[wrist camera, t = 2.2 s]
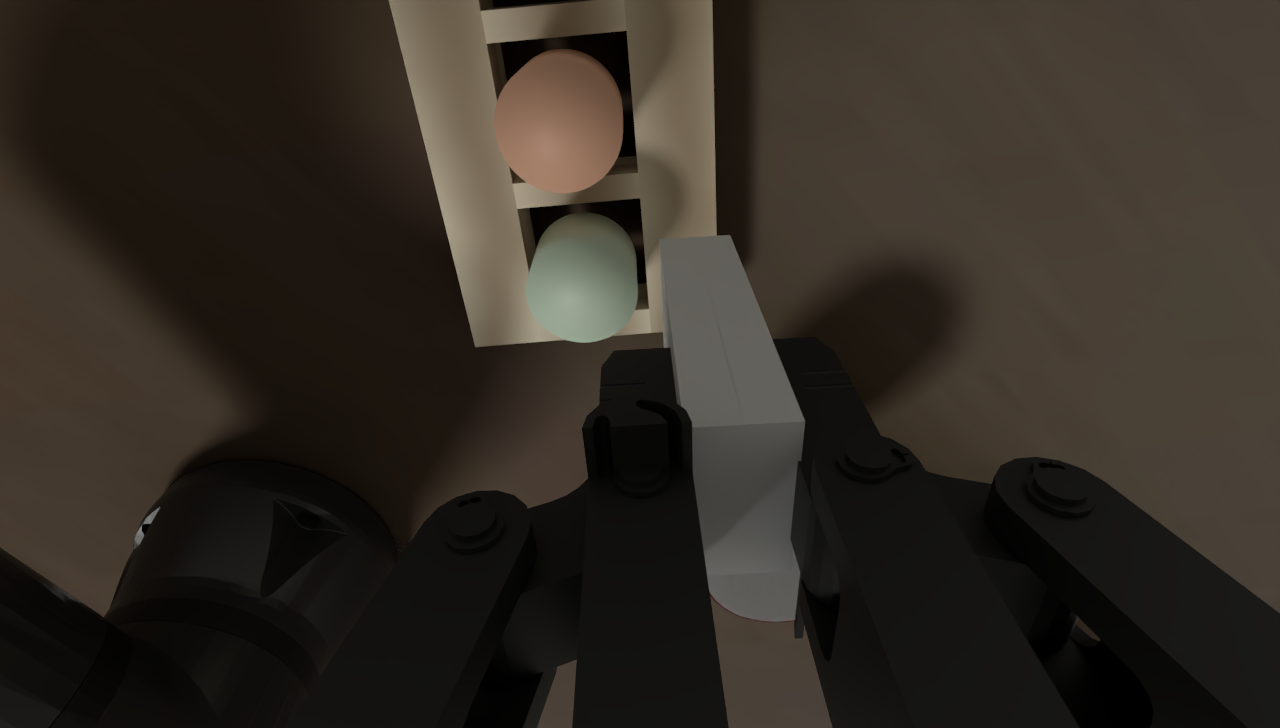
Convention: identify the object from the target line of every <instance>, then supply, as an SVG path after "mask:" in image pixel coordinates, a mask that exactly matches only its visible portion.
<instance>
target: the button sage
mask: <svg viewBox="0 0 1280 728" xmlns="http://www.w3.org/2000/svg"><path fill="white" fill-rule="evenodd" d="M526 297H527V302H528V305H529V308H530V310H531V312H532V314H533V316H534V317H535V319H536V320H537V321H538V322H539V324H540V325H541V326H542V327H543V328H545V329H546V330H547V331H549V332H550V333H552V334H553V335H555V336H557V337H559V338H562V339H565V340H568V341H573V342H581V343H584V342H595V341H599V340H603V339H605V338H608V337H610V336H612V335H614V334H615V333H617V332H618V331H620V330H621V329H622V328H623V327H624V326H625V325H626V324H627V323H628V321H629V320H630V318H631V317H632V315H633V313H634V311H635V308H636V304H637V299H638V285H637V265H636V253H635V249H634V246H633V243H632V241H631V239H630V237H629V236H628V234H627V233H626V232H625V230H624V229H623V228H622V227H621V226H620V225H618V224H617V223H616V222H614V221H613V220H611V219H609V218H607V217H605V216H602V215H599V214H595V213H588V212H580V213H573V214H570V215H566V216H564V217H562V218H560V219H558V220H556V221H555V222H554V223H552V224H551V225H550V226H549V227H548V228H547V229H546V230H545V232H544V233H543V234H542V236H541V238H540V240H539V243H538V246H537V249H536V252H535V255H534V258H533V262H532V265H531V268H530V271H529V274H528V278H527V283H526Z"/></svg>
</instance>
